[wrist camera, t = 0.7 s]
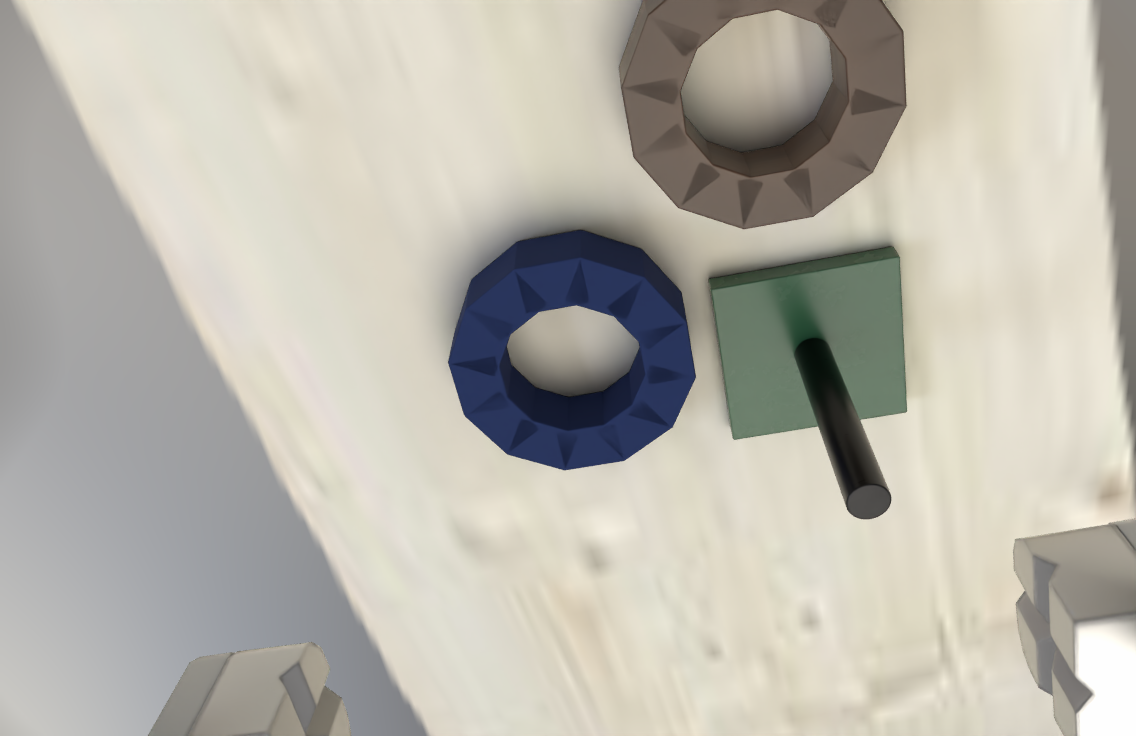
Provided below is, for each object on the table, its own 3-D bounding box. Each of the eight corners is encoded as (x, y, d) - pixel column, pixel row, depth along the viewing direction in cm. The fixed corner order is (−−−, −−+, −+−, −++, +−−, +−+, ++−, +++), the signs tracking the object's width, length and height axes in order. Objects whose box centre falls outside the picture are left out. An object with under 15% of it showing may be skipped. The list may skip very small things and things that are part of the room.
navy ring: (432, 256, 51) (424, 285, 49) (668, 212, 50) (673, 240, 47) (488, 447, 57) (484, 483, 54) (701, 413, 56) (707, 448, 53)
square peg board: (708, 278, 52) (744, 428, 41) (893, 245, 51) (983, 390, 40) (730, 427, 56) (768, 600, 45) (901, 400, 55) (984, 570, 44)
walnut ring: (600, -32, 44) (602, -17, 42) (879, -91, 43) (899, -80, 40) (645, 219, 50) (649, 246, 48) (892, 173, 49) (910, 199, 46)
